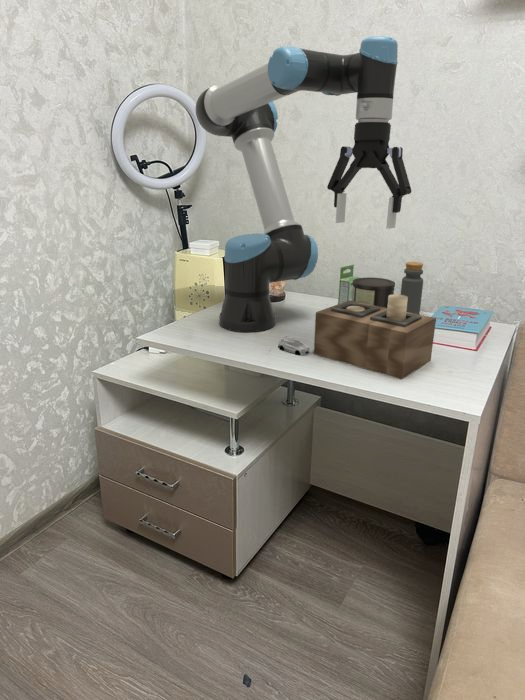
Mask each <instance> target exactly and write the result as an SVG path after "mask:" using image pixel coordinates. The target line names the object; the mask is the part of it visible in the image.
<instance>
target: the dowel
mask: <svg viewBox="0 0 525 700" xmlns="http://www.w3.org/2000/svg"><path fill="white" fill-rule="evenodd" d="M407 301H408V297H407V296H405V295H400V294H398V293H397V294H395V293H394V295H389V296H388V306H387V317H386V318H387V319H392V320H396V321H401V322H402V321H404V320H406V310H407Z"/></svg>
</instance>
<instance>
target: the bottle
mask: <svg viewBox="0 0 525 700" xmlns="http://www.w3.org/2000/svg"><path fill="white" fill-rule="evenodd" d="M423 267H424V264H423V262H417V261H407V262H405V268H404V272H403V273H404V274H405V276H403V277H402V279H401V286H400V287H401V288H400V294H399V295H405V296H407V297H408V301H407V310H406V312H409V313H414V314H419V315H421V314H420V313H421V305H422V297H423V287H424V279H423V277H421V275H423V274H424V270H423Z"/></svg>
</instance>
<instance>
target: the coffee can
mask: <svg viewBox="0 0 525 700" xmlns="http://www.w3.org/2000/svg"><path fill="white" fill-rule="evenodd" d="M395 286H396V282H395V281H394V280H391V279H387V278H383V277H372V276H371V277H368V276H367V277H360V278H357V279H354V280H353V292H352V301H355V302H360V303H365V304H370V305H375V306H379V307H384V308H387V306H388V296H389V295H394V294H395V293H394V292H395Z"/></svg>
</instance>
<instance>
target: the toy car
mask: <svg viewBox="0 0 525 700" xmlns="http://www.w3.org/2000/svg"><path fill="white" fill-rule="evenodd" d="M277 344H278V345H277V348H279V351H280V350H281V351H283V352H284V351H286V352H287V353H292V354H295V356H308V355H310V354H311V351H310V347H309V346H308V345H306V344H304V343H303V342H302V341H300V340H299V339H297V338H295V337H294V338H293V337H289V336H282V337H281V338H280V340H279V342H278V343H277Z"/></svg>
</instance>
